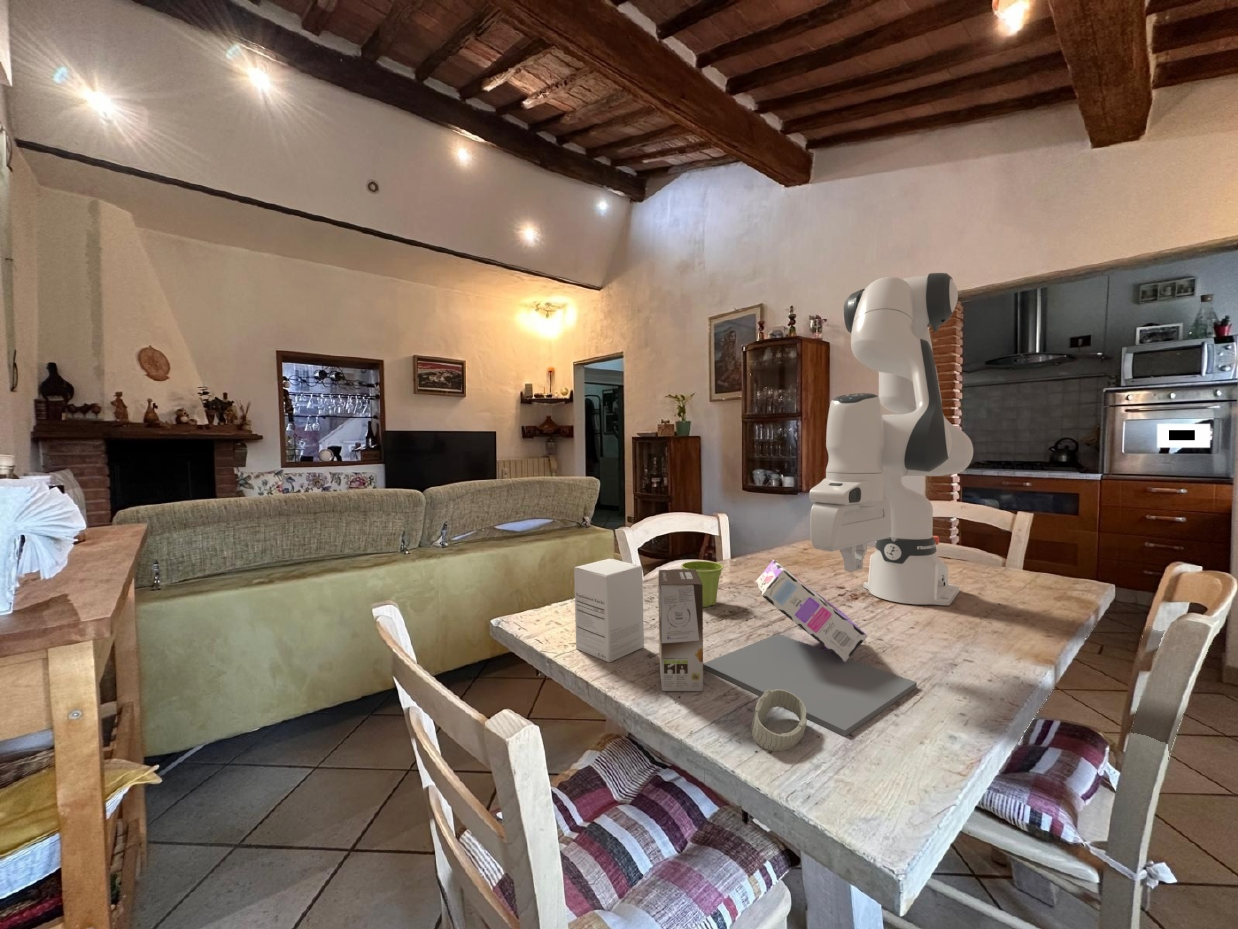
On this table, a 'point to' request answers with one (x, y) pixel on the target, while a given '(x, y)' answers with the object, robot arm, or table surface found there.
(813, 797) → the table surface
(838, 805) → the table surface
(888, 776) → the table surface
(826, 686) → the mat
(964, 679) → the table surface
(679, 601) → the coffee box
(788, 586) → the candy box
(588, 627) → the supplement box
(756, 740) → the beige ribbed ring
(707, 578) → the plant pot
